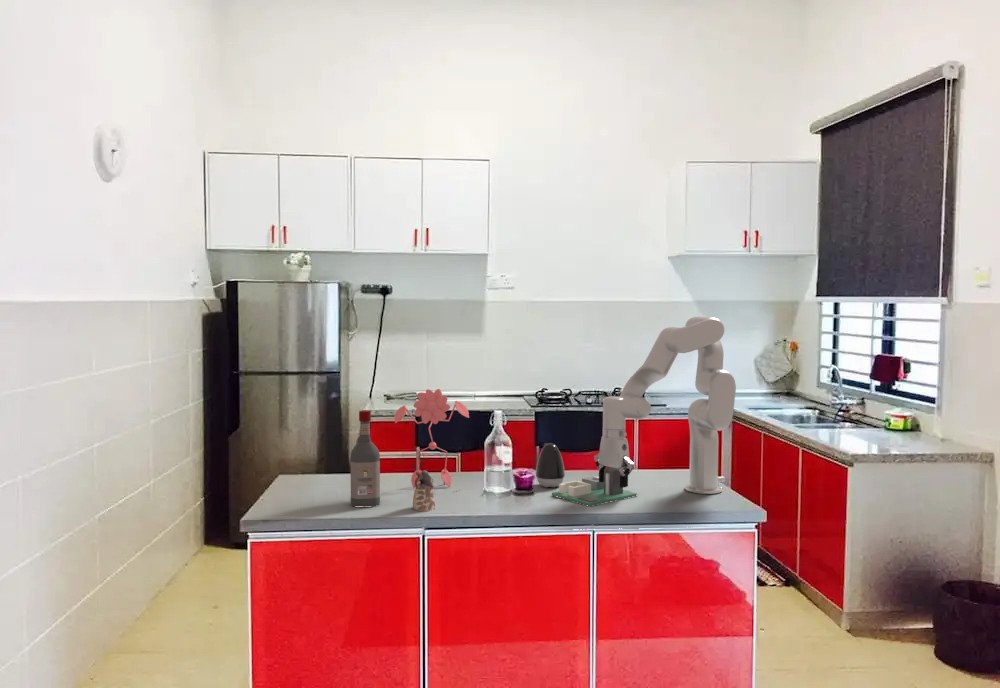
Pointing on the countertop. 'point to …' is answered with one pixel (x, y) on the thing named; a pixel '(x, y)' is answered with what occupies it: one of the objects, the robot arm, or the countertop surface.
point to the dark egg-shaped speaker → (550, 466)
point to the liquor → (365, 467)
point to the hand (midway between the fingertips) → (613, 484)
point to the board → (595, 497)
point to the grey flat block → (594, 482)
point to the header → (575, 488)
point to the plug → (612, 482)
